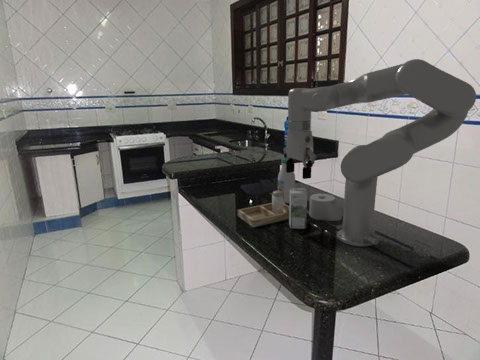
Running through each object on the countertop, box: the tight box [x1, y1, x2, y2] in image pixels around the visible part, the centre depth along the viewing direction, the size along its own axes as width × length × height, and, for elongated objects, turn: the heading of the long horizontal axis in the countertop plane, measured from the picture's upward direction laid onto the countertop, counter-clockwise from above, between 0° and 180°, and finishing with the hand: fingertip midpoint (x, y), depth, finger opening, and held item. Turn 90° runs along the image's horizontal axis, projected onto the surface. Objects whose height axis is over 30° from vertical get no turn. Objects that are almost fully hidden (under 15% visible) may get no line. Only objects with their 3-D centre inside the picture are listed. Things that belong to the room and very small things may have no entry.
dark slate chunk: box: [240, 177, 278, 197], centre depth 166 cm, size 15×22×5 cm
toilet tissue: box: [308, 193, 344, 222], centre depth 126 cm, size 9×13×9 cm
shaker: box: [271, 191, 283, 214], centre depth 129 cm, size 4×4×9 cm
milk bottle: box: [277, 157, 296, 204], centre depth 144 cm, size 8×8×20 cm
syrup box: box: [288, 188, 308, 229], centre depth 118 cm, size 6×6×14 cm
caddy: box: [236, 202, 289, 228], centre depth 128 cm, size 13×20×4 cm, turn 116°
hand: (298, 175), depth 114 cm, fingers open, 9 cm apart
